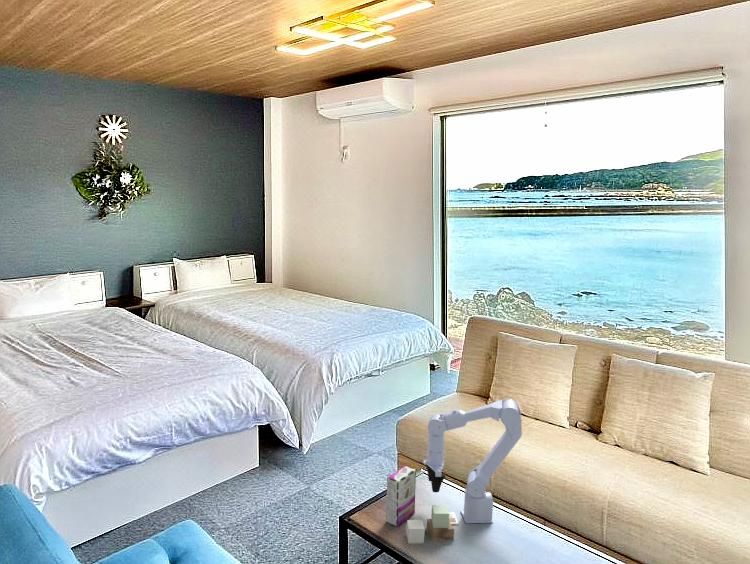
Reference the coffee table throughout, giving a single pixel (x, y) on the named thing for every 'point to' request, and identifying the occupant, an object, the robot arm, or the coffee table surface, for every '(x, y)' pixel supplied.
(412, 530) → the pale grey cube
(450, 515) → the card
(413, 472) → the candy bar box
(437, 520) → the sage cube
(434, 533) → the walnut block
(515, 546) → the coffee table surface
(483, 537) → the coffee table surface
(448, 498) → the coffee table surface
